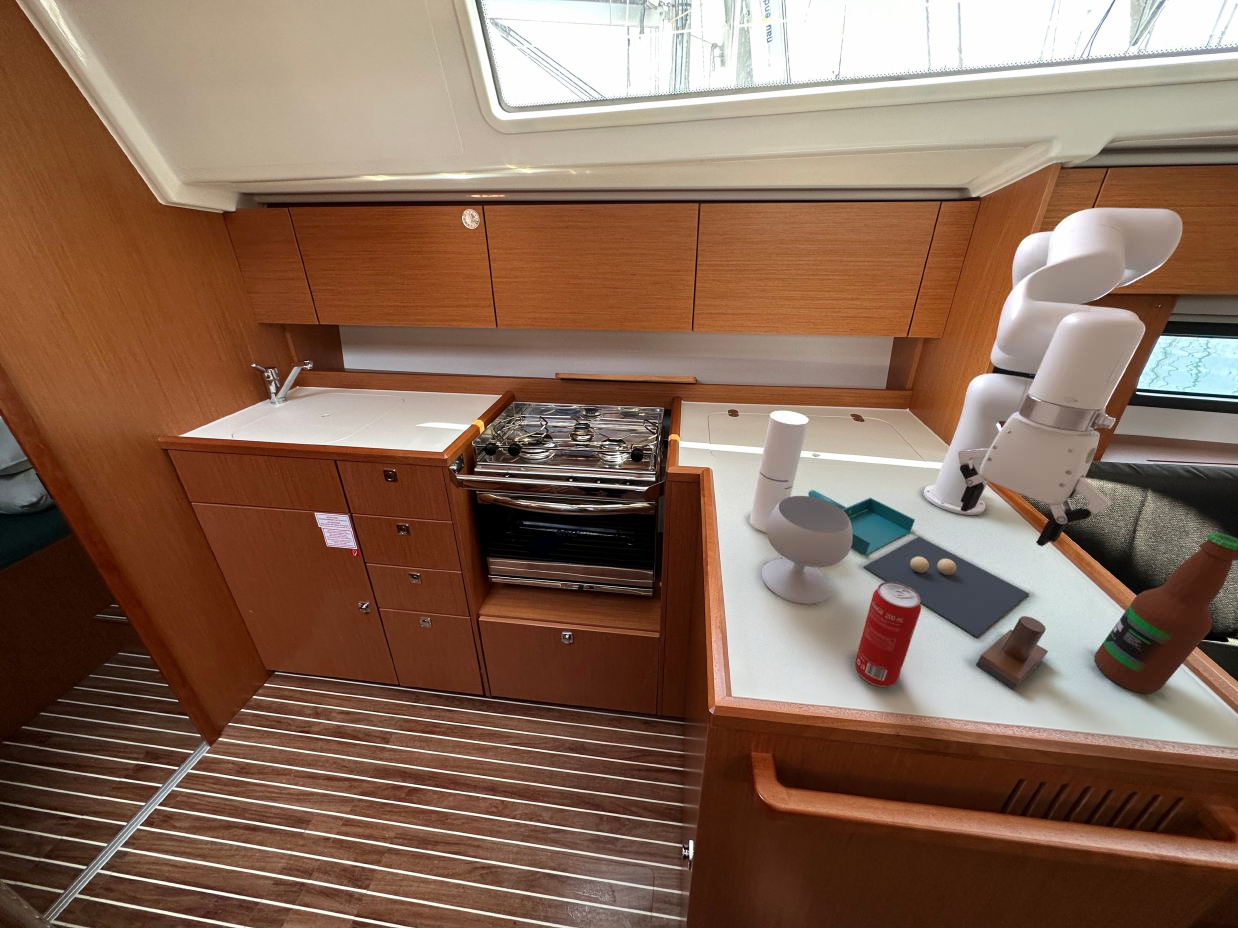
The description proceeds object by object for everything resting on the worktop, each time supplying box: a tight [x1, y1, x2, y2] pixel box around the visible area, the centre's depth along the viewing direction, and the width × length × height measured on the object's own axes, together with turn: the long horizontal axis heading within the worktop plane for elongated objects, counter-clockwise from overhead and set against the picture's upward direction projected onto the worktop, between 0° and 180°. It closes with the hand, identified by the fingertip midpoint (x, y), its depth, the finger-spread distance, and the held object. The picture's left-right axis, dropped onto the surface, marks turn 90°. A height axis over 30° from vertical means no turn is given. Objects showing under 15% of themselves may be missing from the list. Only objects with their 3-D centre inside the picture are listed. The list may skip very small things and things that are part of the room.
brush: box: [975, 615, 1049, 690], centre depth 70 cm, size 10×5×8 cm, turn 122°
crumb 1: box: [910, 557, 929, 573], centre depth 89 cm, size 3×3×3 cm
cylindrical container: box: [749, 410, 809, 533], centre depth 98 cm, size 7×7×25 cm
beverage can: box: [854, 581, 922, 688], centre depth 66 cm, size 6×6×15 cm
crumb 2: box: [937, 559, 956, 575], centre depth 89 cm, size 3×3×3 cm
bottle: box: [1093, 532, 1238, 694], centre depth 65 cm, size 7×7×25 cm
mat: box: [862, 536, 1030, 639], centre depth 88 cm, size 20×20×1 cm
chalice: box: [761, 495, 853, 604], centre depth 83 cm, size 14×14×15 cm
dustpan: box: [807, 489, 916, 557], centre depth 105 cm, size 20×17×3 cm
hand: (1003, 524), depth 68 cm, fingers open, 9 cm apart
